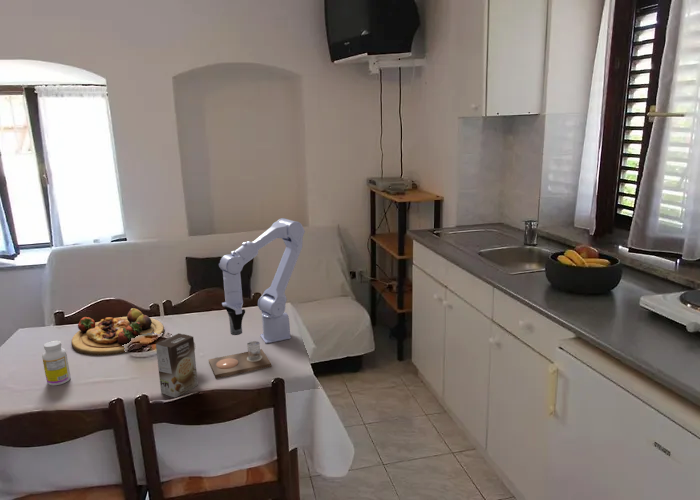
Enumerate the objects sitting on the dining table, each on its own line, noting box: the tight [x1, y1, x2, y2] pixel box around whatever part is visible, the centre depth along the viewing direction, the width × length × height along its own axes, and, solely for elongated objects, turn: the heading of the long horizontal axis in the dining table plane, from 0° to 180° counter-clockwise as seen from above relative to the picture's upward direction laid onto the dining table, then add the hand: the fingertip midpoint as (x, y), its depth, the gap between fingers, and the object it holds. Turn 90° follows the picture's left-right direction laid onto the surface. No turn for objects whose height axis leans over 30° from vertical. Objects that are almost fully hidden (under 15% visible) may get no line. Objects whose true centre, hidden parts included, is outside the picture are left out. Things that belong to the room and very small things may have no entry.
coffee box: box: [155, 333, 199, 398], centre depth 163 cm, size 9×6×16 cm
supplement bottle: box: [41, 340, 71, 387], centre depth 170 cm, size 7×7×13 cm
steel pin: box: [228, 315, 243, 336], centre depth 189 cm, size 4×4×7 cm
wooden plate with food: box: [70, 307, 165, 356], centre depth 204 cm, size 32×32×8 cm
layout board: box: [208, 340, 272, 379], centre depth 179 cm, size 18×12×6 cm, turn 114°
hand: (236, 326), depth 190 cm, fingers closed on steel pin, 4 cm apart
